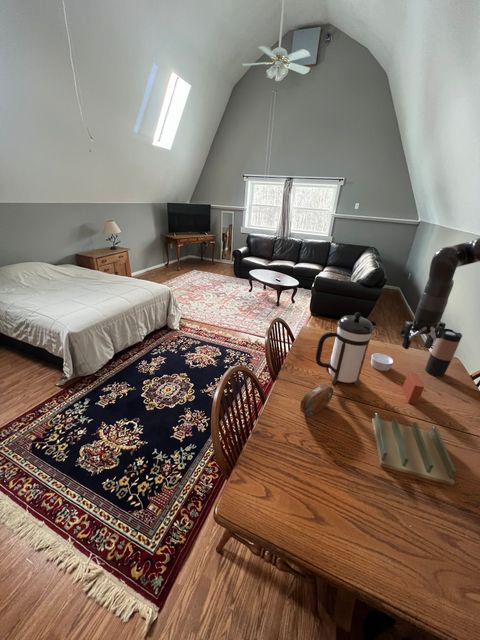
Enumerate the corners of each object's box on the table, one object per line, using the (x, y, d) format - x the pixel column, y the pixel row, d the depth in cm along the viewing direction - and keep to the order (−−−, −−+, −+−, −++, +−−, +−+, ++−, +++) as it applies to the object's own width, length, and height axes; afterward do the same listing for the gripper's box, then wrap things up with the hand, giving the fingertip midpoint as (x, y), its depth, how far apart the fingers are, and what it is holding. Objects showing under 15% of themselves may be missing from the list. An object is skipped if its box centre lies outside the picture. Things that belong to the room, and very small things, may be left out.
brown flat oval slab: (303, 420, 90) (307, 400, 87) (296, 414, 93) (300, 395, 89) (331, 403, 99) (335, 384, 95) (324, 398, 101) (328, 380, 97)
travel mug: (427, 375, 117) (443, 334, 109) (422, 365, 124) (437, 327, 115) (447, 379, 115) (465, 338, 107) (441, 369, 122) (458, 330, 113)
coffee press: (335, 362, 123) (349, 301, 110) (368, 380, 112) (387, 315, 99) (311, 375, 113) (323, 310, 100) (344, 396, 102) (363, 326, 89)
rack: (431, 434, 87) (435, 424, 85) (453, 486, 71) (459, 475, 70) (371, 420, 92) (374, 410, 90) (380, 465, 76) (384, 455, 74)
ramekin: (366, 360, 126) (368, 352, 124) (385, 361, 126) (387, 353, 124) (374, 371, 118) (376, 363, 116) (394, 372, 118) (397, 364, 116)
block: (410, 389, 108) (417, 373, 104) (417, 404, 100) (424, 387, 96) (402, 387, 108) (408, 371, 105) (408, 402, 101) (414, 385, 97)
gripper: (419, 311, 86) (404, 353, 93) (459, 311, 88) (441, 353, 95) (404, 302, 93) (391, 343, 100) (441, 302, 95) (426, 342, 101)
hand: (416, 347), depth 97 cm, fingers open, 8 cm apart
